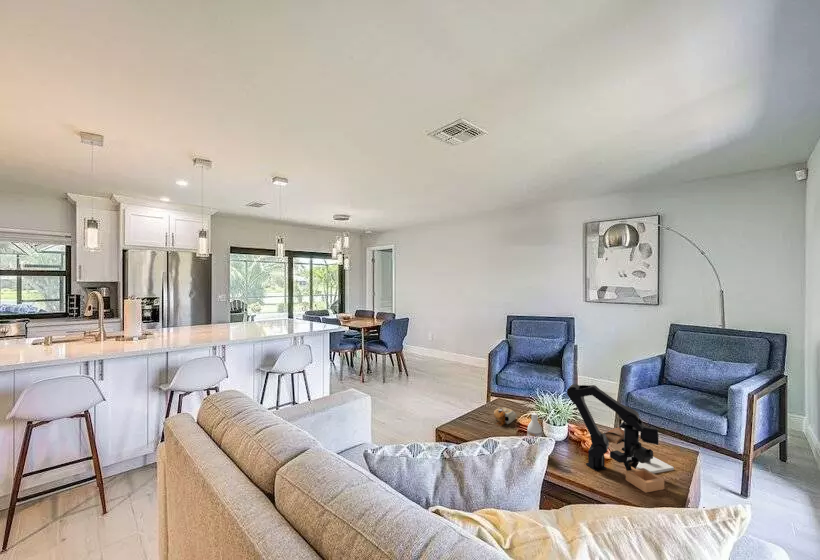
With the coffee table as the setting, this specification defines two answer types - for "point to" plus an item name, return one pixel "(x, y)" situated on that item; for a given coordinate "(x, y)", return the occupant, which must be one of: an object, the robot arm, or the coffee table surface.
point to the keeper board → (655, 466)
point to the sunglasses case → (615, 435)
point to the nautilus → (504, 415)
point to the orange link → (637, 480)
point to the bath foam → (534, 426)
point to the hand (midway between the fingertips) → (630, 473)
